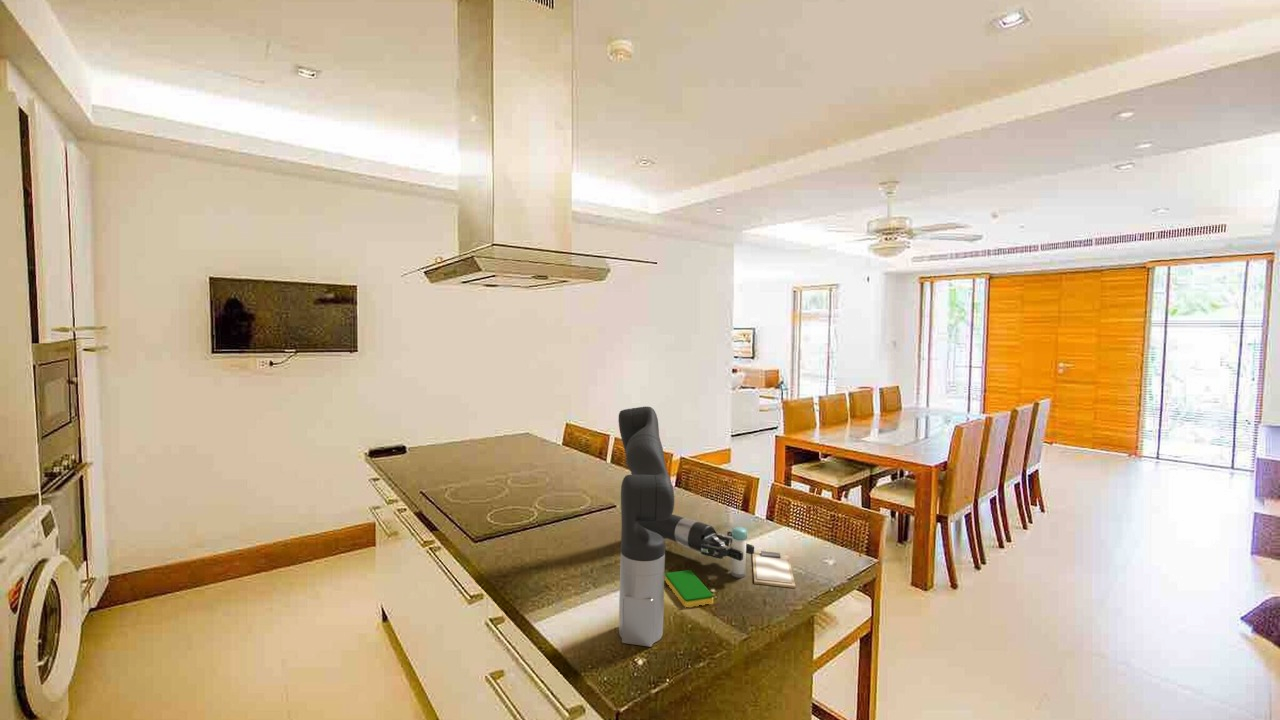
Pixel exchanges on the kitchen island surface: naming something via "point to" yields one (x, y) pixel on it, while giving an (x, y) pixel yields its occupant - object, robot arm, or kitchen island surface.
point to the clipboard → (772, 569)
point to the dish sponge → (688, 588)
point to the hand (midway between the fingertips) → (747, 553)
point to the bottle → (739, 544)
